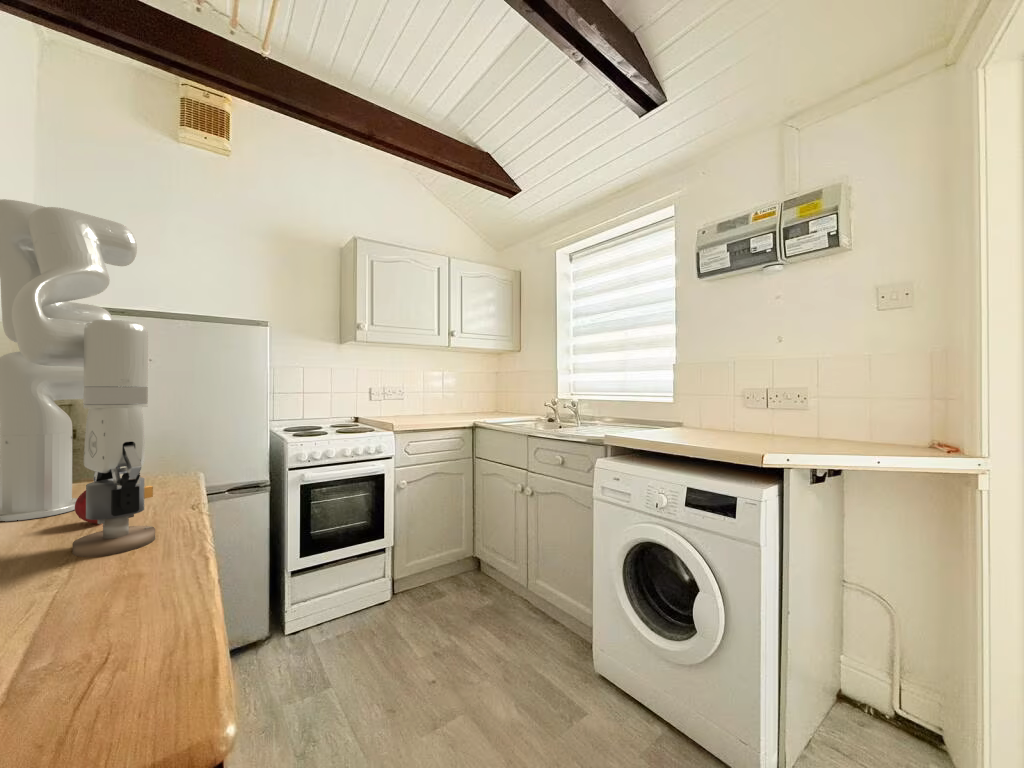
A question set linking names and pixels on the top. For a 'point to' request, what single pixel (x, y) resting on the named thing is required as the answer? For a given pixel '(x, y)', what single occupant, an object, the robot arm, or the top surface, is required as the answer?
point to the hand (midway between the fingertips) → (116, 509)
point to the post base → (114, 538)
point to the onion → (82, 508)
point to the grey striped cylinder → (109, 499)
